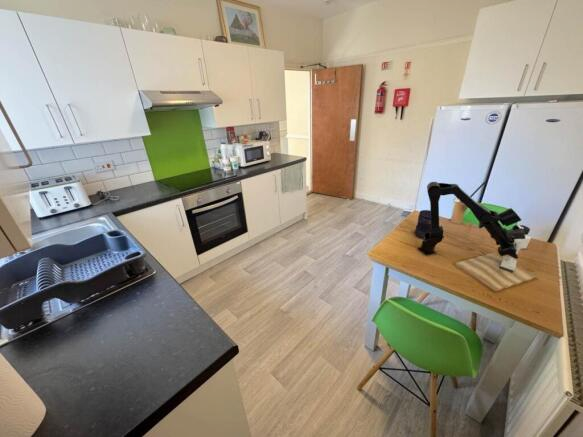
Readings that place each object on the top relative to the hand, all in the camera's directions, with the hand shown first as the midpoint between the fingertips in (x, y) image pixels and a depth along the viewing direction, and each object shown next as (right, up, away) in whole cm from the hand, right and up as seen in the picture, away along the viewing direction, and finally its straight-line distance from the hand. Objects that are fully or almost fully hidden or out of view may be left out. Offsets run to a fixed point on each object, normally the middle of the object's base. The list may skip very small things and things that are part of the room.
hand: (516, 256), depth 113 cm
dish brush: (-1, -6, +4) cm, 7 cm away
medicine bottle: (+19, +3, +22) cm, 29 cm away
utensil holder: (+5, +16, +48) cm, 51 cm away
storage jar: (-26, +8, +34) cm, 43 cm away
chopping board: (-9, -8, +3) cm, 12 cm away
